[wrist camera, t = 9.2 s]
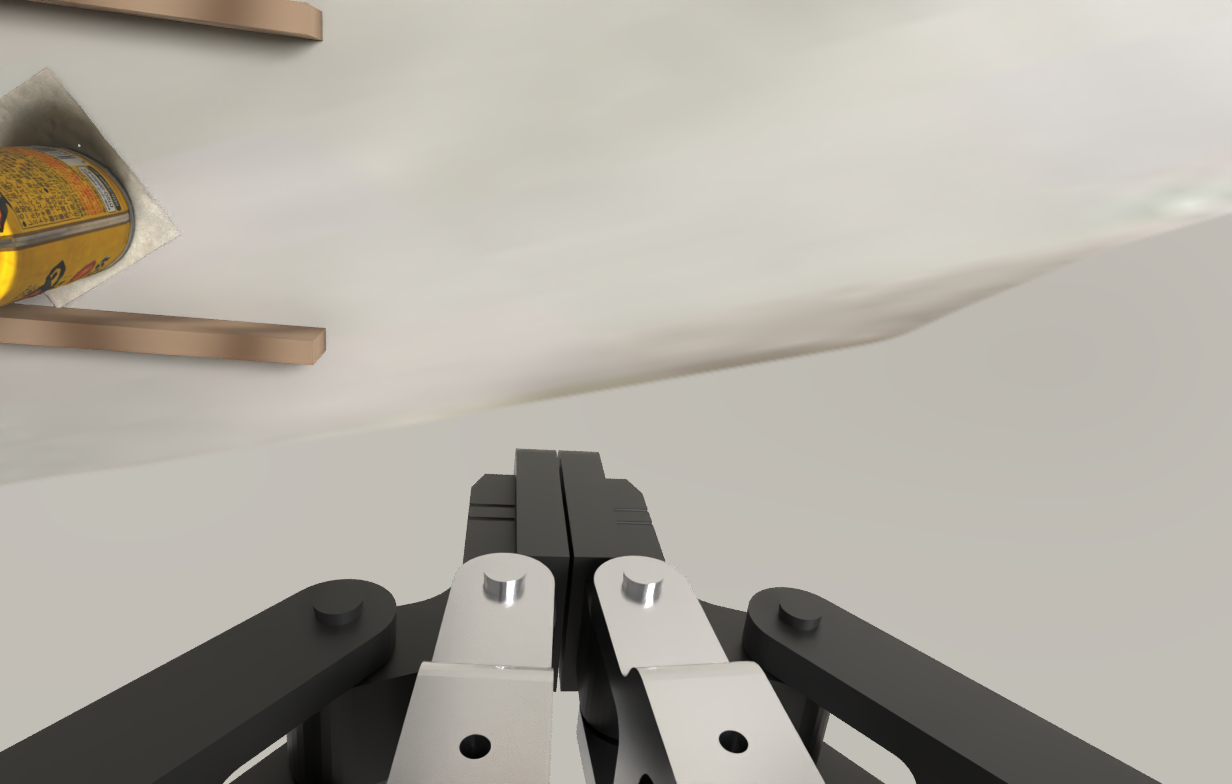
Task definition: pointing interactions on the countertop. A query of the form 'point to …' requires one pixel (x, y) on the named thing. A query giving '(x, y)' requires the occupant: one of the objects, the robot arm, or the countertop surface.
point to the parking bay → (221, 3)
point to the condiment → (66, 199)
